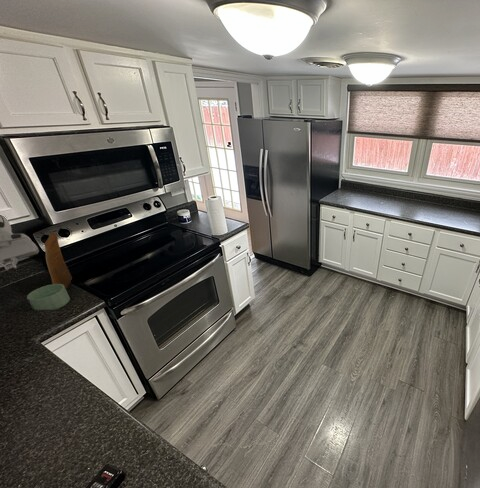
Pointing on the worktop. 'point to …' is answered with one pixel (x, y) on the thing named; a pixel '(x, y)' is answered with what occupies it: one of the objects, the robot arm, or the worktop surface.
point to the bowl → (49, 297)
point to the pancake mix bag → (56, 262)
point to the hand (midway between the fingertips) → (11, 268)
